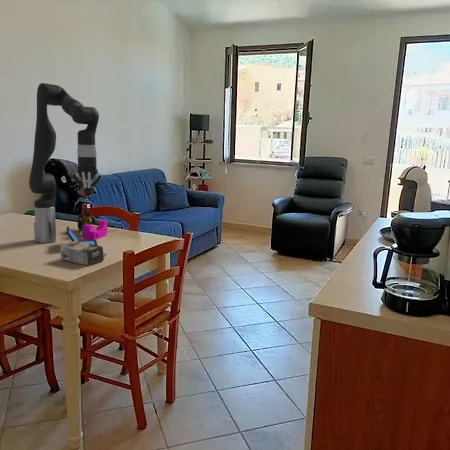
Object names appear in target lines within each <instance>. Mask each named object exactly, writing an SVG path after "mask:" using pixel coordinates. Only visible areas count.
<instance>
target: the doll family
mask: <svg viewBox="0 0 450 450" xmlns="http://www.w3.org/2000/svg"><path fill="white" fill-rule="evenodd" d="M82 210H83V212H84V213H81V212H80V213H78V214H77V229H78V230H77V231H76V232H77V234H81V235H80V237H82V238H84V229H83V225H86V224H88V225H95V224H96V223H98V221H97V220H96V219H95V216H92V213H91V212H89V207H87V206H84V207H83V208H82Z"/></svg>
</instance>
